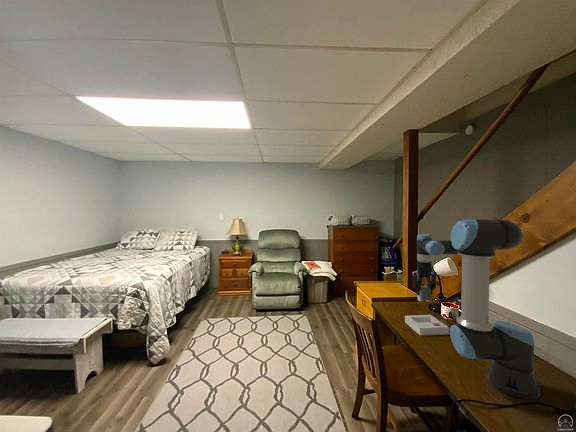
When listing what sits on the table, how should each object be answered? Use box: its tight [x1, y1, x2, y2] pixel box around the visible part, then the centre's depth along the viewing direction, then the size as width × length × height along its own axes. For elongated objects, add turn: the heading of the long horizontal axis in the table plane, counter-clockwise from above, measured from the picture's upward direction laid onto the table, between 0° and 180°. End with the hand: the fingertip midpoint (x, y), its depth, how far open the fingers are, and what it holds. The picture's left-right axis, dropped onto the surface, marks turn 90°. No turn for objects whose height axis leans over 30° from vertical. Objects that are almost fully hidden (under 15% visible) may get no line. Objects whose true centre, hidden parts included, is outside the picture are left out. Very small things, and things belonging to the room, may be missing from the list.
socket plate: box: [404, 314, 450, 336], centre depth 143 cm, size 16×16×5 cm
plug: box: [420, 285, 432, 303], centre depth 144 cm, size 5×5×8 cm
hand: (424, 300), depth 144 cm, fingers closed on plug, 5 cm apart
